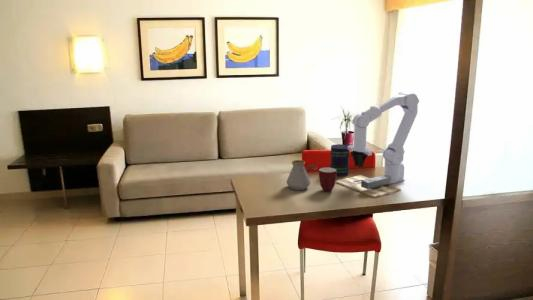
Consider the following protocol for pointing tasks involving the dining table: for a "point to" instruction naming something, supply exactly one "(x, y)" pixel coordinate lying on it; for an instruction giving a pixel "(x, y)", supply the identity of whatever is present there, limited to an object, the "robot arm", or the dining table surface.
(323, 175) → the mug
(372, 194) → the label board
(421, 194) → the dining table surface
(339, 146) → the storage jar
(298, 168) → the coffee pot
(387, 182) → the grey square pillar
